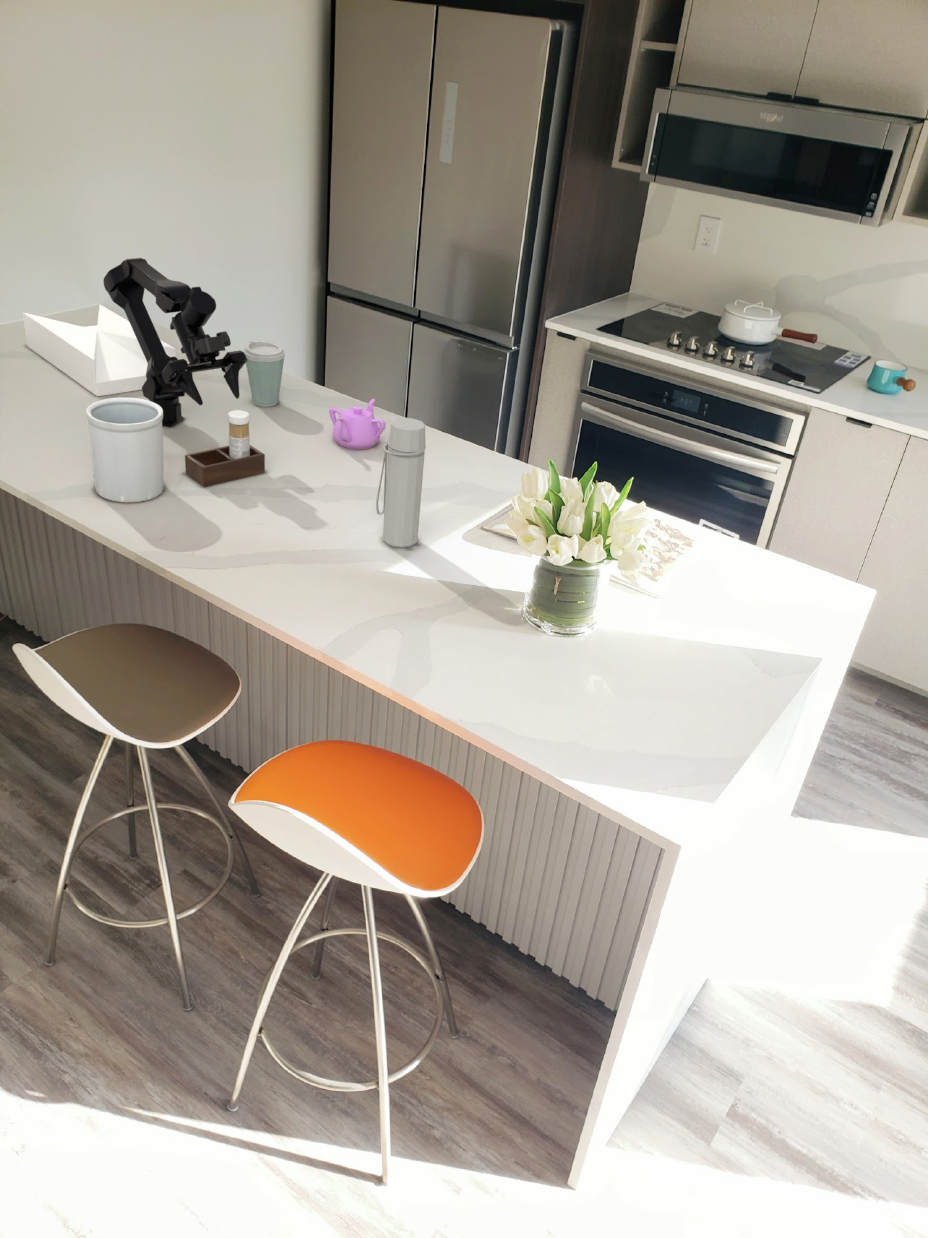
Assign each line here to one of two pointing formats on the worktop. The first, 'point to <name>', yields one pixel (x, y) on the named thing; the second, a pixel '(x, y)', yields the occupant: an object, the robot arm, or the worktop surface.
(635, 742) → the worktop surface
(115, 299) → the robot arm
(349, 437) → the teapot
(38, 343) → the white shallow tray
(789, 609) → the worktop surface
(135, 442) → the utensil holder
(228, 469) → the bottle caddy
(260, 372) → the disposable coffee cup
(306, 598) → the worktop surface
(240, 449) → the sprinkles bottle
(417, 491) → the water bottle
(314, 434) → the worktop surface
